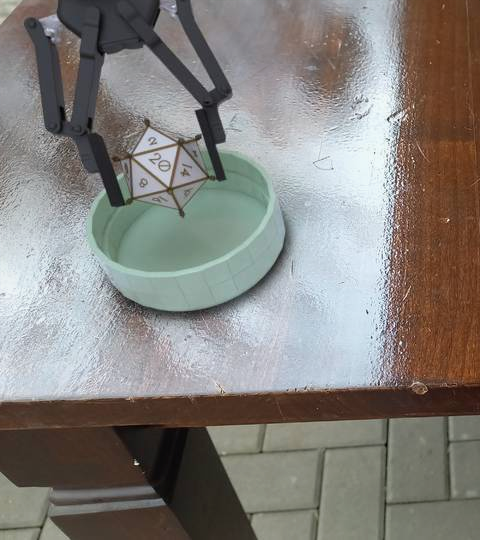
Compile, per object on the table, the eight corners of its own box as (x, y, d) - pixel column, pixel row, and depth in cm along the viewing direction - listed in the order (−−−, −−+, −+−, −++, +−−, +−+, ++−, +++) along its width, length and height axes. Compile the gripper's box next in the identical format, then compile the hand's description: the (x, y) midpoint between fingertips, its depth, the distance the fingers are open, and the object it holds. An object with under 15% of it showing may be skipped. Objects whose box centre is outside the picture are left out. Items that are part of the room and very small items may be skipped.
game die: (209, 220, 72) (248, 166, 66) (135, 247, 65) (171, 190, 59) (159, 150, 72) (193, 90, 66) (80, 171, 66) (110, 106, 59)
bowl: (86, 317, 68) (59, 279, 63) (135, 189, 80) (115, 149, 75) (274, 312, 69) (260, 273, 64) (295, 185, 80) (285, 145, 76)
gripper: (214, -60, 67) (284, 167, 70) (-29, -20, 62) (59, 224, 65) (208, -95, 60) (286, 159, 63) (-68, -54, 55) (32, 223, 58)
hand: (171, 192), depth 64 cm, fingers closed on game die, 8 cm apart
